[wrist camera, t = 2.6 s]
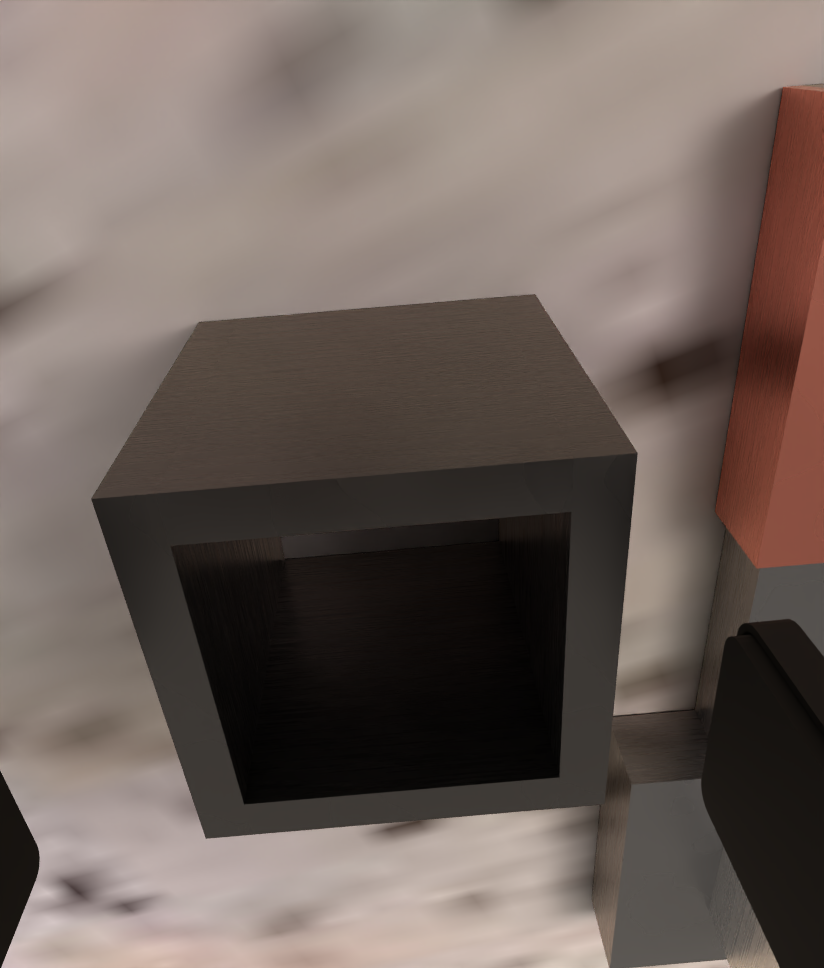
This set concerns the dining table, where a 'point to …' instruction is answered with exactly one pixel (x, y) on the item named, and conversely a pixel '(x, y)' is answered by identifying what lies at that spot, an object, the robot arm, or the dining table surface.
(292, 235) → the dining table surface
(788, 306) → the ratchet
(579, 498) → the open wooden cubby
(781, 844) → the robot arm
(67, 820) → the dining table surface
